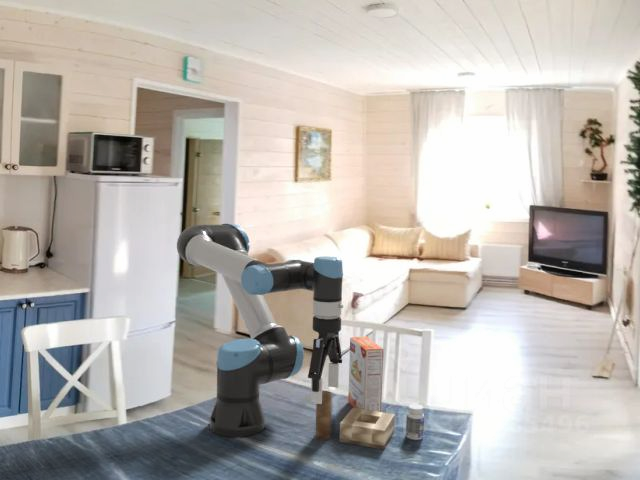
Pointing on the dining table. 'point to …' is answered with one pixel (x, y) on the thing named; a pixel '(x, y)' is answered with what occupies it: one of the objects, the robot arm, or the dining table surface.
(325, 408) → the pin
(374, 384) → the cracker box
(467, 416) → the dining table surface
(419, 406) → the pill bottle
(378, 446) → the bore block
